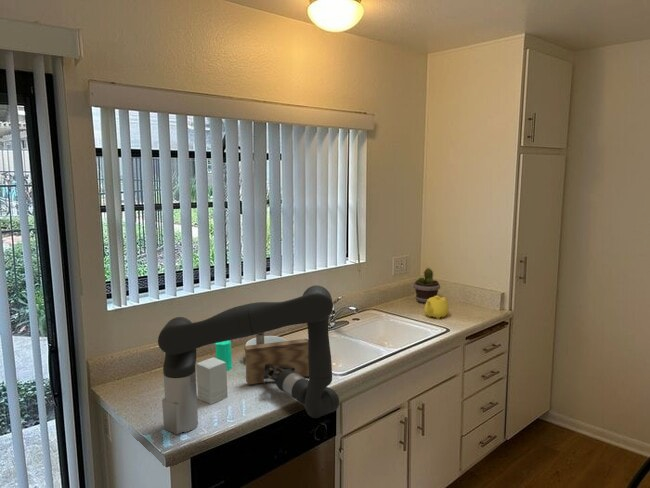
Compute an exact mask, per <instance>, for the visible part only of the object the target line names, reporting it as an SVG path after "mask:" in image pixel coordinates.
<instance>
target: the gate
mask: <svg viewBox="0 0 650 488" xmlns="http://www.w3.org/2000/svg"><path fill="white" fill-rule="evenodd" d="M243 346H244V349H243V350H244V352H245V353H244V358H245V379H246V380H245V382H246V384H247V385H255V384H261V383H264V374H265V365H268V364H270V365H272V366H274V367H277V368H279V366H284V367H292V368H295V372H296V373H298V374H300V375H301V376H309V367H308V338H301V339H293V340H287V341H282V342H274V343H266V344H258V345H249V346H246V345H243ZM270 378H271V376H270Z"/></svg>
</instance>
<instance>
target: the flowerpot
mask: <svg viewBox="0 0 650 488" xmlns="http://www.w3.org/2000/svg"><path fill="white" fill-rule="evenodd" d="M422 273H423V275H422V276H423V277H422V276H420V277H418V279H416V280H415V281H414V282H413V284H412V285H413V288H414V290H415V294H416V295H415V299H416V301H417V302H418V303H419V304H425V305H426V302H427V300H428V299H429V298H431V297H435V296H438V292H439V290H440V288H441V285H440V283H439V281H438V280H434V276H435V275H434V271H433V269H431V266H430V267H429V265H428V267H427V268H425V269H424V271H422Z"/></svg>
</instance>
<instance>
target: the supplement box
mask: <svg viewBox="0 0 650 488" xmlns="http://www.w3.org/2000/svg"><path fill="white" fill-rule="evenodd" d="M195 369H196V387H197V399H199V400H201V401H203V402H205V403H206V404H208V405H213V404H215V403H217V402H219V401H222V400H224V399H227V398H228V396H229V395H228V379H227V378H228V377H227V376H228V375H227V371H226V362H224V361H222V360H219V359H217V358H216V357H210V358H207V359H205V360H202V361H199V362H196V364H195Z"/></svg>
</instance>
